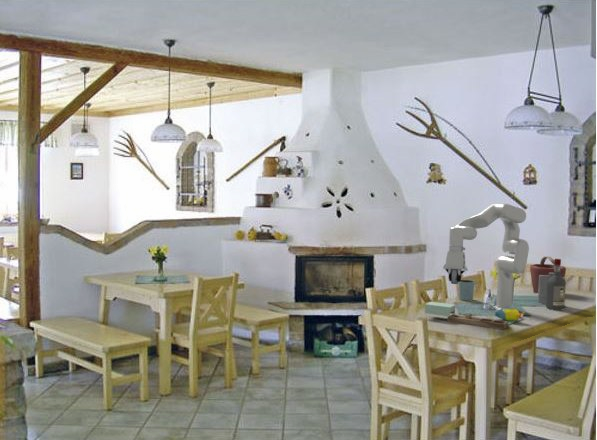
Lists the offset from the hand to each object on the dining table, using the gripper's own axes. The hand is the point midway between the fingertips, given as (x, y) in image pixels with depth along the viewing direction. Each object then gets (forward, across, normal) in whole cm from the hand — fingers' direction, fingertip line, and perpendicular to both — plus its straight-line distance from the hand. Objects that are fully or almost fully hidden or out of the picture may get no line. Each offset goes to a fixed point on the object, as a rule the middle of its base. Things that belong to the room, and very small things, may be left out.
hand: (454, 281), depth 383 cm
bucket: (+20, -26, -111) cm, 116 cm away
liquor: (+20, -43, -57) cm, 74 cm away
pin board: (+19, -18, +14) cm, 30 cm away
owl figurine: (+20, -30, -3) cm, 36 cm away
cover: (+16, +2, +15) cm, 22 cm away
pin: (+1, 0, 0) cm, 1 cm away
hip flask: (+20, -38, -69) cm, 81 cm away
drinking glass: (+20, +10, -51) cm, 56 cm away
